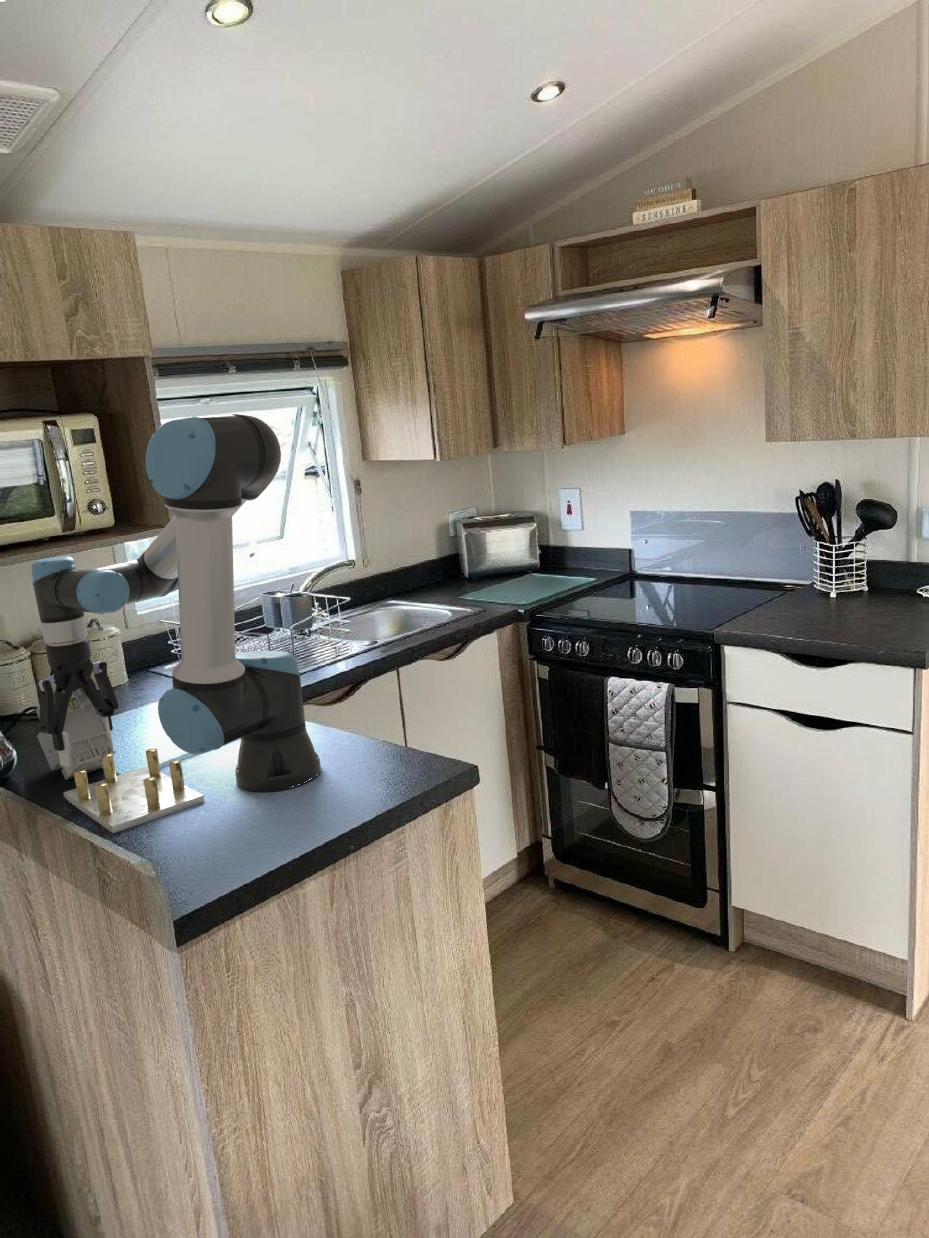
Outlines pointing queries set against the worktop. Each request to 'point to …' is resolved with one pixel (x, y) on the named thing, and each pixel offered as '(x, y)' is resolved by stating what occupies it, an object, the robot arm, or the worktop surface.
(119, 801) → the mounting plate
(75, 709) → the circuit breaker
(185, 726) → the robot arm
